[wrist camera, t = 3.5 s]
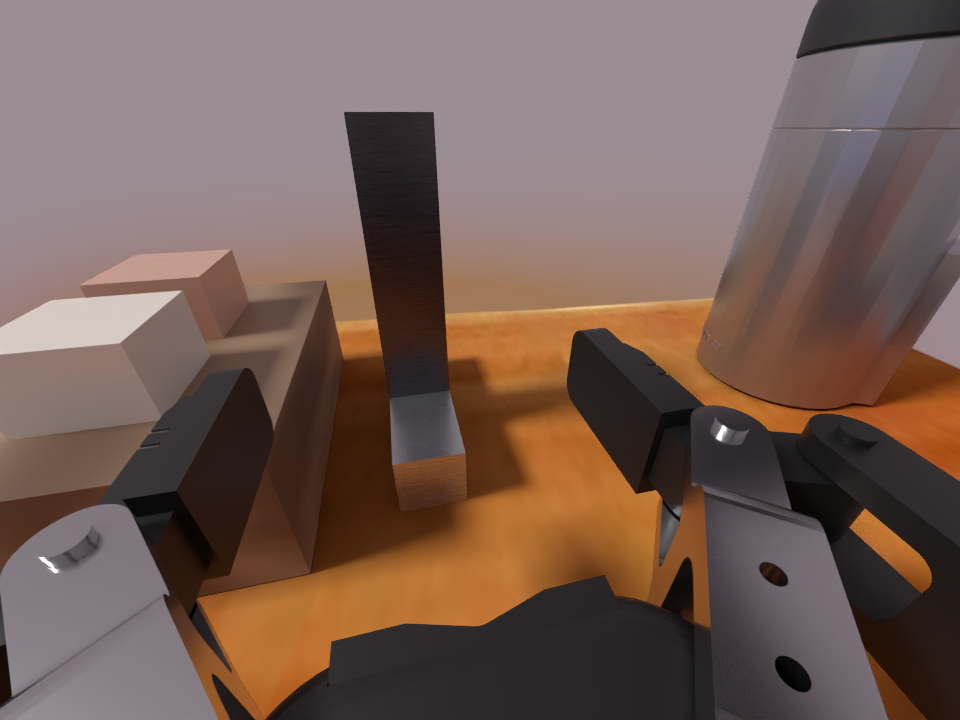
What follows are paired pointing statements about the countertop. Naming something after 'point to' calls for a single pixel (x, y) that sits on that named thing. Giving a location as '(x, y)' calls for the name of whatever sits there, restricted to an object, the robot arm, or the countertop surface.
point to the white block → (97, 363)
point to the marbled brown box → (248, 344)
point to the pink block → (182, 285)
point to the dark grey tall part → (409, 299)
